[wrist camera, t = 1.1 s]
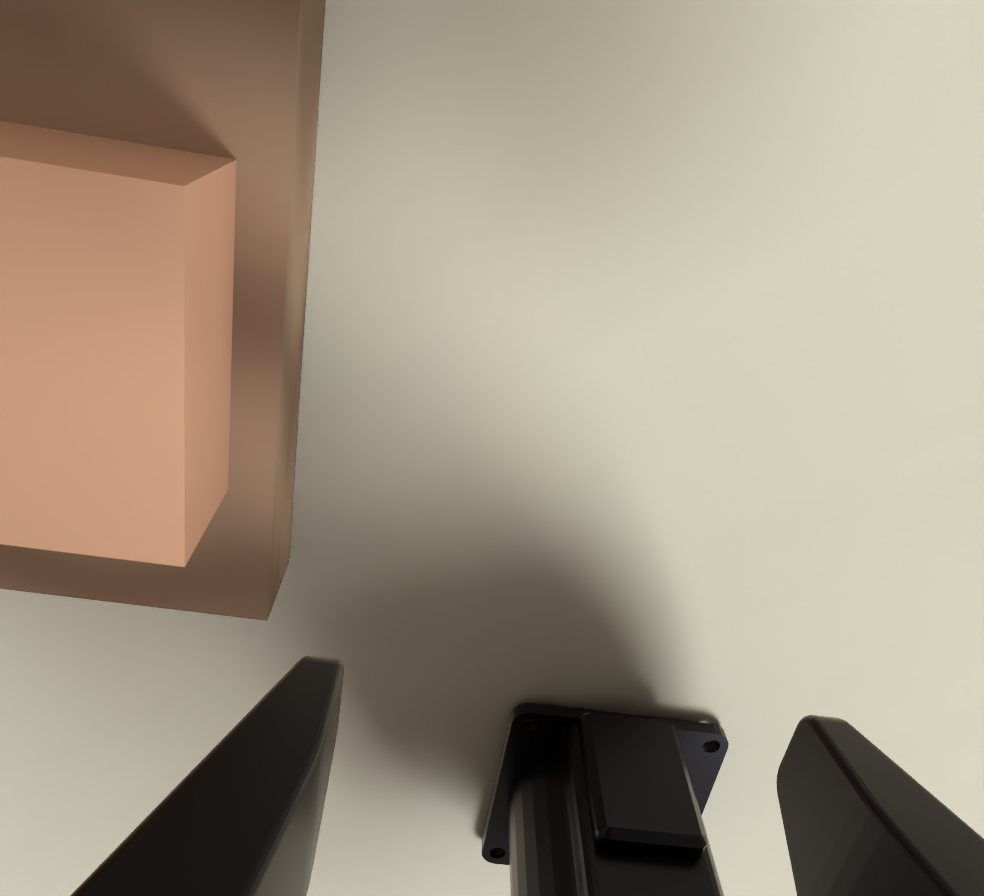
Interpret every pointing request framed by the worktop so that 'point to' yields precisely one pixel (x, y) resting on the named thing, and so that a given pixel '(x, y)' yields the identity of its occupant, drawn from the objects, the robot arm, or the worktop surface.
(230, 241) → the terracotta tile
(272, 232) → the walnut ledge
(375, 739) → the worktop surface
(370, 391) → the worktop surface
